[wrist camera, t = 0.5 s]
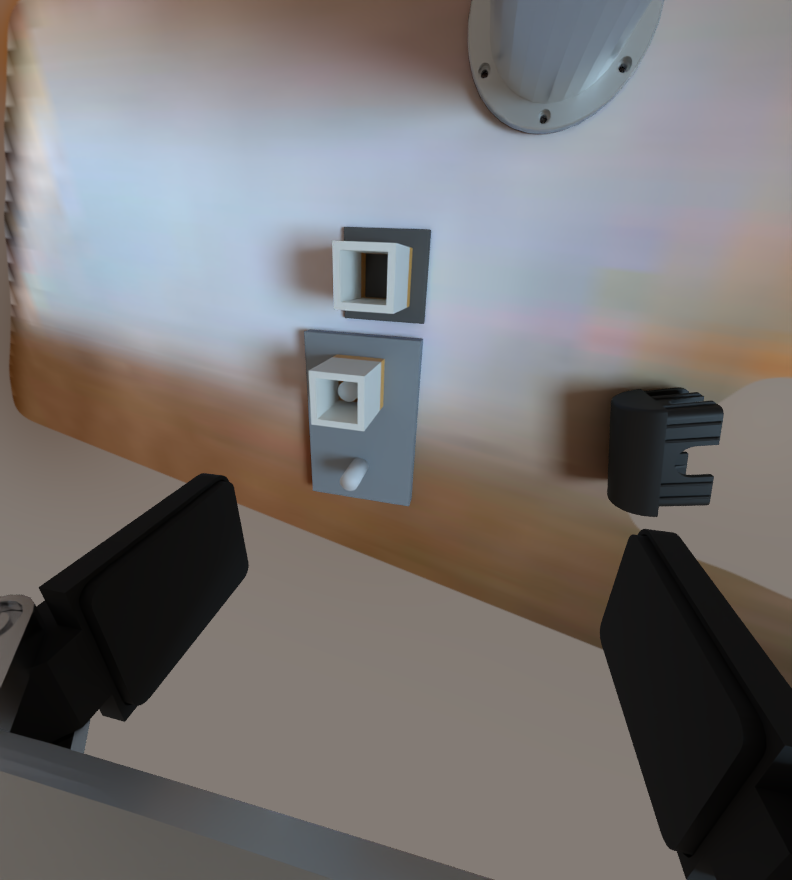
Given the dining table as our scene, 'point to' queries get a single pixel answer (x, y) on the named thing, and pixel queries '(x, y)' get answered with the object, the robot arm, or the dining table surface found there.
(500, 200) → the dining table surface
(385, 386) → the pin board
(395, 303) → the sleeve
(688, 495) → the end cap
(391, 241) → the mat
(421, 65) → the dining table surface
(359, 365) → the seated sleeve
